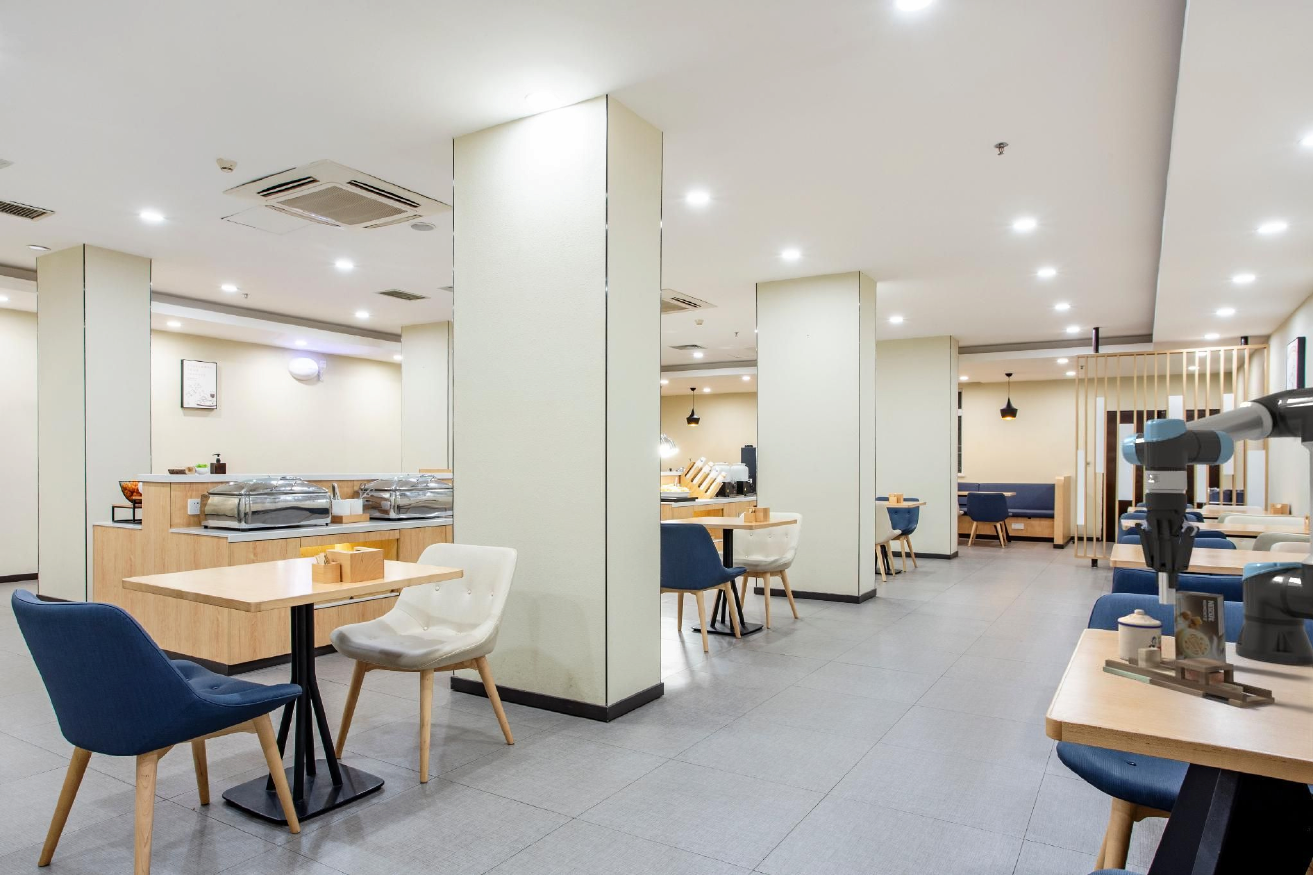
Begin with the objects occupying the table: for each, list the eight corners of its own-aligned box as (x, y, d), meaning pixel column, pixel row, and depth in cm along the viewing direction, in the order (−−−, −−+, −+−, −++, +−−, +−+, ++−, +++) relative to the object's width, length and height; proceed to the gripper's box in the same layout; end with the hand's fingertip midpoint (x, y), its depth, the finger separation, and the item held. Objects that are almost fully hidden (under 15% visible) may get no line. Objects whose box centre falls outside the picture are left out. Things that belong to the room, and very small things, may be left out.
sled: (1153, 669, 172) (1152, 647, 172) (1243, 692, 154) (1242, 667, 155) (1138, 671, 170) (1138, 648, 170) (1227, 694, 153) (1227, 669, 153)
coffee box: (1227, 664, 184) (1226, 594, 184) (1220, 668, 179) (1219, 597, 180) (1181, 657, 190) (1180, 589, 191) (1173, 661, 186) (1172, 592, 187)
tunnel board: (1135, 667, 179) (1134, 641, 179) (1274, 702, 152) (1274, 672, 152) (1102, 671, 175) (1102, 644, 175) (1239, 707, 148) (1239, 676, 148)
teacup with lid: (1155, 666, 180) (1155, 614, 181) (1112, 659, 187) (1111, 609, 188) (1171, 658, 188) (1171, 609, 189) (1129, 652, 195) (1128, 604, 196)
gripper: (1124, 490, 173) (1126, 599, 172) (1183, 492, 160) (1185, 609, 159) (1149, 491, 175) (1150, 598, 174) (1209, 492, 163) (1211, 607, 162)
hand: (1167, 603), depth 167 cm, fingers closed
